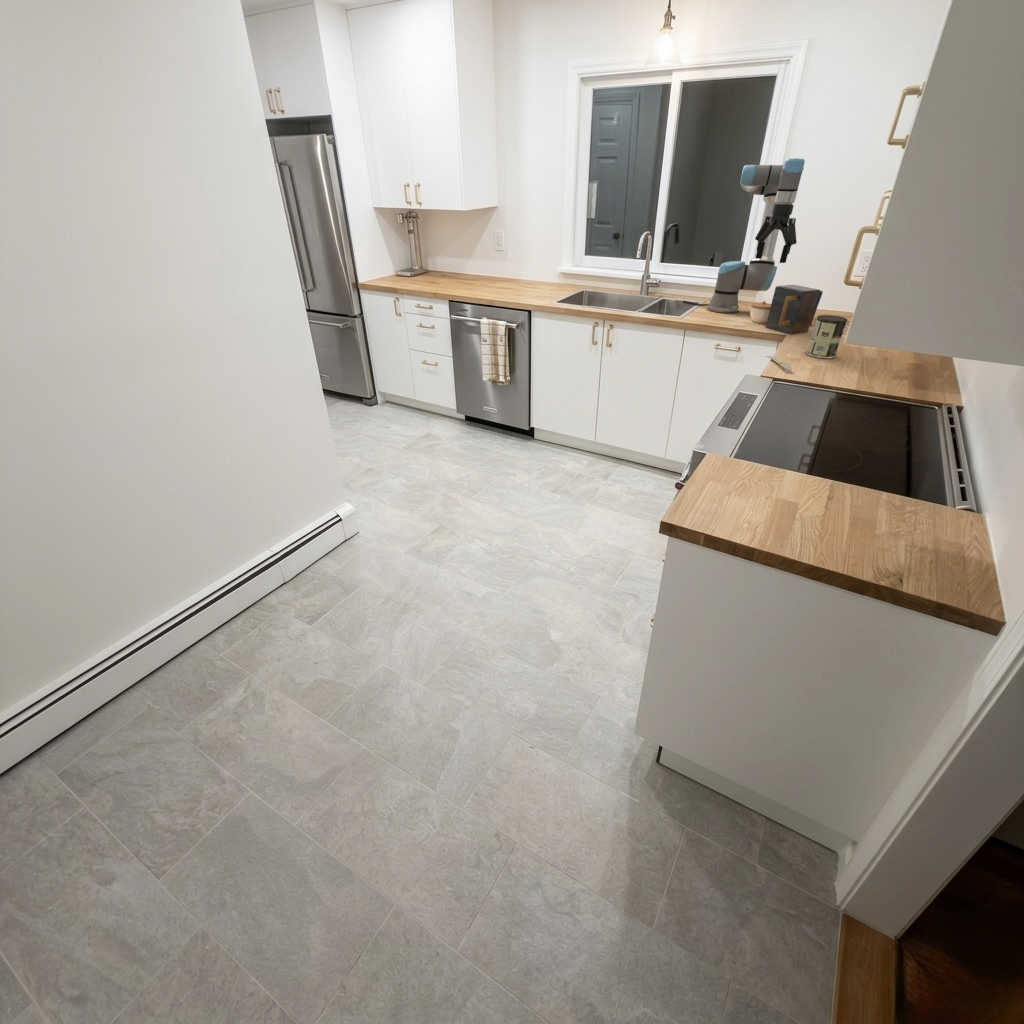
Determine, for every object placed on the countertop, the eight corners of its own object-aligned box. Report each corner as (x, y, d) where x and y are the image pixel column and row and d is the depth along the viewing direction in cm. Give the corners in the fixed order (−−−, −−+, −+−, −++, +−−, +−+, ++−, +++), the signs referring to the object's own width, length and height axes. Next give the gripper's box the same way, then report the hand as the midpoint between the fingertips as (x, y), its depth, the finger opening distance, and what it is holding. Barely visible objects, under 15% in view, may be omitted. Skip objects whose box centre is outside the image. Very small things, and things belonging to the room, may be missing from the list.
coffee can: (830, 352, 213) (842, 315, 206) (838, 359, 205) (851, 321, 197) (803, 350, 215) (814, 314, 208) (809, 357, 206) (821, 319, 199)
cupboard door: (781, 335, 235) (793, 292, 226) (756, 328, 246) (766, 287, 236) (792, 333, 238) (804, 291, 228) (766, 327, 248) (777, 286, 239)
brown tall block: (808, 326, 251) (818, 292, 243) (794, 324, 255) (804, 290, 247) (815, 324, 254) (825, 291, 246) (801, 322, 259) (811, 289, 251)
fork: (769, 362, 208) (771, 355, 207) (793, 373, 189) (795, 365, 188) (762, 362, 208) (764, 355, 207) (785, 373, 189) (787, 365, 188)
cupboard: (792, 334, 238) (804, 291, 228) (767, 327, 249) (777, 285, 239) (807, 332, 242) (820, 289, 232) (782, 325, 252) (793, 284, 243)
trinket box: (773, 324, 253) (778, 303, 248) (749, 323, 255) (754, 302, 250) (768, 319, 262) (774, 299, 257) (745, 318, 264) (750, 298, 259)
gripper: (816, 205, 210) (799, 264, 221) (768, 202, 229) (755, 256, 240) (802, 205, 207) (786, 264, 218) (754, 202, 227) (742, 257, 238)
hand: (770, 260), depth 229 cm, fingers open, 13 cm apart
